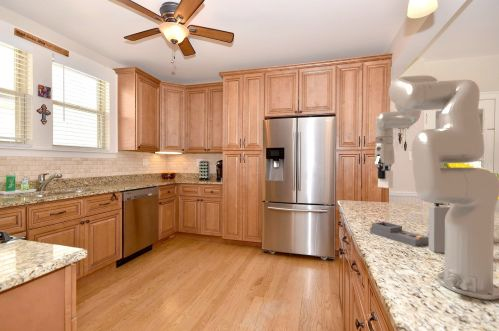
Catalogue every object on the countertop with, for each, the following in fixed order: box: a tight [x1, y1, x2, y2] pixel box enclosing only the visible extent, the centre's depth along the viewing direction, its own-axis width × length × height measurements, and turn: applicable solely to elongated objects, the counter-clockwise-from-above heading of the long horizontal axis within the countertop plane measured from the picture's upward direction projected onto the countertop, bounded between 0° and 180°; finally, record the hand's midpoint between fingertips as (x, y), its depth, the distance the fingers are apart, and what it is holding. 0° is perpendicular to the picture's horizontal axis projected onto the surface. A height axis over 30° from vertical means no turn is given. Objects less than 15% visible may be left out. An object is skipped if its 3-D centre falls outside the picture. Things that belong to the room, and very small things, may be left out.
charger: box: [377, 170, 394, 189], centre depth 115 cm, size 4×5×8 cm
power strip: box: [369, 221, 429, 247], centre depth 104 cm, size 9×20×5 cm, turn 25°
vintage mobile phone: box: [428, 203, 451, 254], centre depth 88 cm, size 4×5×25 cm
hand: (384, 178), depth 116 cm, fingers closed on charger, 4 cm apart
